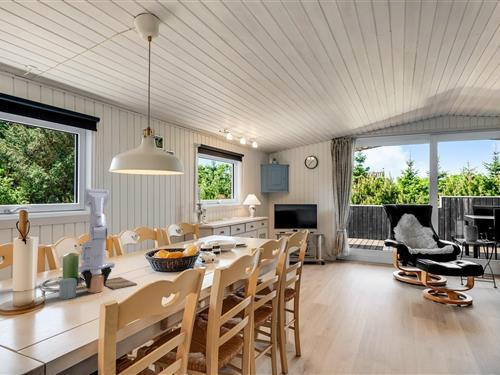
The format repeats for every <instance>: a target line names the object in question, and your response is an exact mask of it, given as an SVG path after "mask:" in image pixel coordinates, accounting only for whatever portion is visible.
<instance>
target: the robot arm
mask: <svg viewBox="0 0 500 375" xmlns="http://www.w3.org/2000/svg"><path fill="white" fill-rule="evenodd" d="M84 198H85V200H84V203H85V206H87V207H89V210H90V213H89V215H90V216H89V233H88V234H89V235H88V240H87V241H85V242H84V243H82V246H81V256H80V258H81V260H82V262H81V266H79V267H78V268H77V273H80V276H82V277H84V279H85V287H86V289H87V290H88V289H90V287H91V277H92V274H97V273H100V274H104V287H106V286H105V284H106V281H107V279H109V276H110V274H111V273H112V269H114V268H115V266H116V265H115V262H106V263H105V261H106V260H105V259H106V246H107V244H106V240H108V238H109V237H108V235H109V230H108V225H107V222H106V220H107V219H106V215H105V214H104V213H103V211H104V210H103V209H104V207H105V206H106V205H107V204H108V200H109V190H108V189H102V188H101V189H99V188H98V189H97V188H88V187H87V188H86V189H85V197H84Z"/></svg>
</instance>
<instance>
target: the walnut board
mask: <svg viewBox="0 0 500 375" xmlns="http://www.w3.org/2000/svg"><path fill="white" fill-rule="evenodd" d="M134 286H138V284H137V283H136V282H133V281H131V280H128V279H126V278H124V277H122V276H117V277H112V278H111V277H110V278H107V281H106V284H105V286H104V287H108V288H109V289H112V290H114V291H115V290H119V289H125V288H129V287H130V288H131V287H134Z"/></svg>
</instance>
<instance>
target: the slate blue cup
mask: <svg viewBox="0 0 500 375" xmlns="http://www.w3.org/2000/svg"><path fill="white" fill-rule="evenodd" d="M77 284H78V280H77V278H74V277H68V278H62V279H60V280H59V286H58V287H59V288H58V290H59V291H58V298H59V299H61V300H68V299H74V298H75V297H76V296H77V286H78V285H77Z"/></svg>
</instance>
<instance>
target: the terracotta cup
mask: <svg viewBox="0 0 500 375" xmlns="http://www.w3.org/2000/svg"><path fill="white" fill-rule="evenodd" d="M104 287H105V286H104V274H101V272H100V273H97V274H92V277H91V287H90V289H88V288H87V292H88V293H93V294H95V293H101V292H103V291H104Z"/></svg>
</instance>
